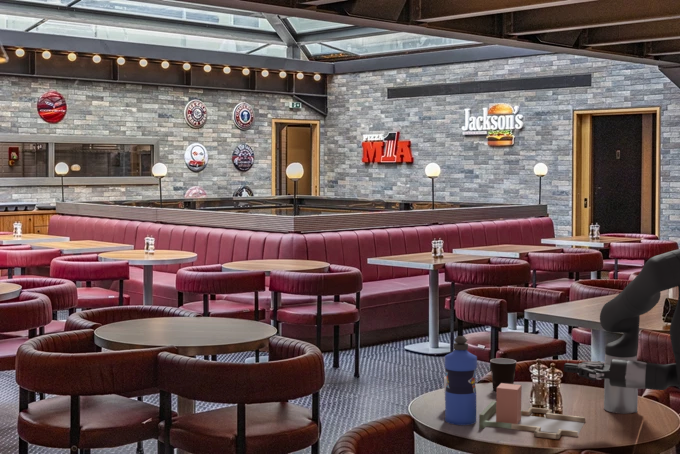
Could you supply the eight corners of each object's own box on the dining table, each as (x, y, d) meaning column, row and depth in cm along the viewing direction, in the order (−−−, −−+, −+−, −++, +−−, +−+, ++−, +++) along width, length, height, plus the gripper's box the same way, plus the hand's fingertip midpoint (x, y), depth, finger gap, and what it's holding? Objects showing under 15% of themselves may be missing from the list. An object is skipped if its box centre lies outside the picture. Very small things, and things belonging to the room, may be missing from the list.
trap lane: (587, 420, 259) (587, 407, 259) (574, 444, 236) (574, 430, 236) (495, 410, 270) (495, 397, 269) (475, 432, 247) (475, 418, 247)
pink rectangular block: (521, 418, 257) (521, 385, 256) (516, 424, 252) (517, 389, 251) (500, 416, 259) (501, 383, 259) (496, 421, 254) (496, 387, 253)
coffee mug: (510, 395, 288) (510, 364, 288) (485, 391, 293) (485, 361, 292) (523, 387, 298) (523, 358, 297) (499, 384, 303) (499, 355, 302)
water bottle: (442, 423, 255) (442, 338, 254) (447, 415, 264) (447, 332, 263) (474, 426, 253) (474, 339, 251) (478, 417, 262) (478, 334, 260)
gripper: (631, 355, 248) (568, 349, 254) (626, 366, 236) (560, 359, 242) (630, 381, 249) (567, 374, 255) (625, 393, 236) (559, 386, 243)
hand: (564, 367), depth 249 cm, fingers closed
